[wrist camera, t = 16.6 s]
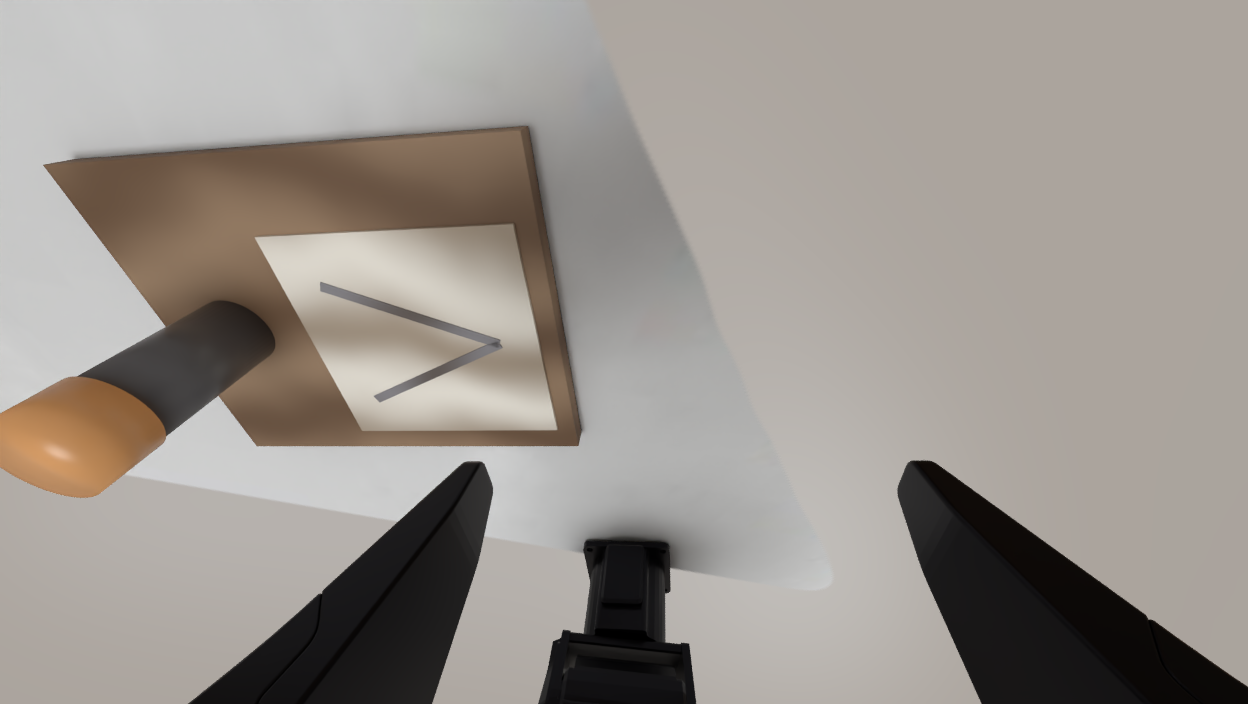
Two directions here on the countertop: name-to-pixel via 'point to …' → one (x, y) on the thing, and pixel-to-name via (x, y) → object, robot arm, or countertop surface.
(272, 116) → the countertop surface
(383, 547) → the robot arm
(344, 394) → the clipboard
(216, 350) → the black and orange cylinder
